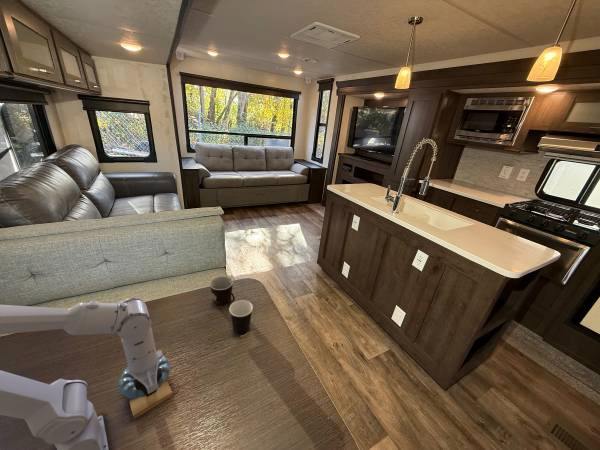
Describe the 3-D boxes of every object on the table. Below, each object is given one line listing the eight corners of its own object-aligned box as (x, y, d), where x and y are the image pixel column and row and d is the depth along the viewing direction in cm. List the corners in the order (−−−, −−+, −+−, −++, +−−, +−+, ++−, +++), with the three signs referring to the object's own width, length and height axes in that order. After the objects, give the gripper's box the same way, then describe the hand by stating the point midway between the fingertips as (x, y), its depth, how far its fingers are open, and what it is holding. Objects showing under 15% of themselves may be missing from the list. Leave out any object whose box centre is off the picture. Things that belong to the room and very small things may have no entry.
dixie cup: (254, 337, 86) (255, 313, 82) (231, 343, 83) (230, 318, 79) (250, 321, 93) (250, 298, 89) (228, 325, 90) (227, 302, 86)
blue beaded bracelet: (176, 380, 65) (175, 373, 63) (126, 411, 57) (123, 403, 56) (162, 352, 72) (160, 345, 71) (115, 376, 64) (113, 368, 63)
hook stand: (172, 395, 67) (169, 380, 64) (134, 419, 61) (129, 403, 58) (162, 370, 73) (159, 356, 70) (126, 390, 67) (121, 375, 64)
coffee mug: (210, 298, 102) (208, 278, 98) (231, 294, 106) (230, 274, 102) (213, 318, 93) (212, 297, 89) (236, 312, 96) (236, 292, 92)
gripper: (169, 360, 54) (176, 399, 59) (151, 320, 63) (158, 357, 69) (131, 381, 49) (143, 421, 55) (117, 334, 59) (128, 372, 64)
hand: (149, 387), depth 61 cm, fingers closed on blue beaded bracelet, 3 cm apart
